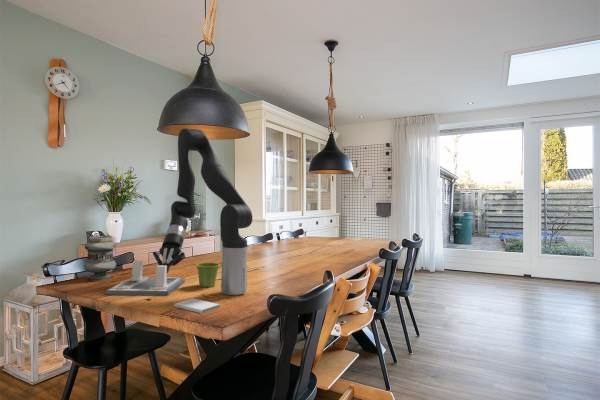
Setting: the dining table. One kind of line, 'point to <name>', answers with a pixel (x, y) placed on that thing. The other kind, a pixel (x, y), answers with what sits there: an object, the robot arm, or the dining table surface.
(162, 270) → the tab
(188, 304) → the external hard drive
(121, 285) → the switch board
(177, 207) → the robot arm
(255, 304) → the dining table surface
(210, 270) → the plant pot
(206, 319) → the dining table surface
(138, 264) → the tab
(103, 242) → the apothecary jar
